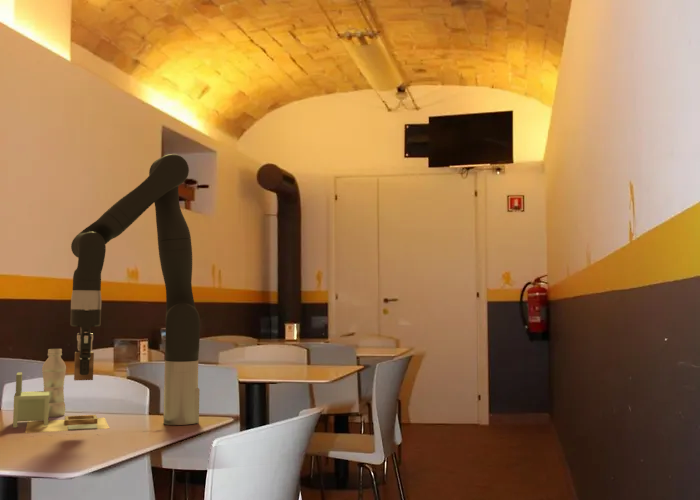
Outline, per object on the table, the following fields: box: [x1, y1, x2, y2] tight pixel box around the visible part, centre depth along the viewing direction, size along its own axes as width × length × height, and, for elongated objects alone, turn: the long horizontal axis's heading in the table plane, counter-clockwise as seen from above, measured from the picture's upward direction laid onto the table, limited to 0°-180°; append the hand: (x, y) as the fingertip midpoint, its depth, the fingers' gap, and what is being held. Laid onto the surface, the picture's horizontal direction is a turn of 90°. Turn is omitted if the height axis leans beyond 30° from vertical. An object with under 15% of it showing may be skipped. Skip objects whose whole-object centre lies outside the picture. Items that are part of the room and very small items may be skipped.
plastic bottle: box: [41, 348, 67, 418], centre depth 217 cm, size 6×7×20 cm
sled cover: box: [12, 371, 49, 428], centre depth 200 cm, size 8×11×13 cm
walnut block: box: [73, 351, 95, 381], centre depth 196 cm, size 4×4×7 cm
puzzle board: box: [25, 414, 110, 438], centre depth 199 cm, size 20×20×2 cm
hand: (83, 373), depth 195 cm, fingers closed on walnut block, 4 cm apart
